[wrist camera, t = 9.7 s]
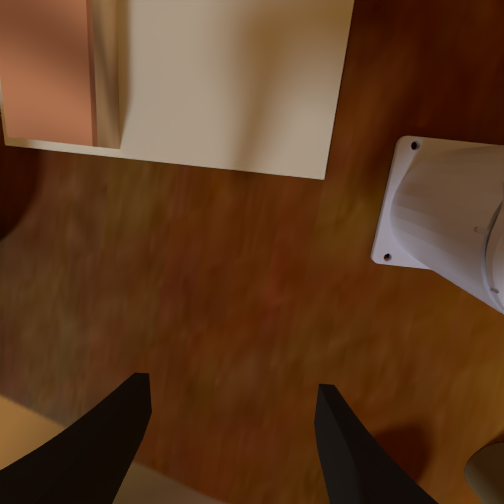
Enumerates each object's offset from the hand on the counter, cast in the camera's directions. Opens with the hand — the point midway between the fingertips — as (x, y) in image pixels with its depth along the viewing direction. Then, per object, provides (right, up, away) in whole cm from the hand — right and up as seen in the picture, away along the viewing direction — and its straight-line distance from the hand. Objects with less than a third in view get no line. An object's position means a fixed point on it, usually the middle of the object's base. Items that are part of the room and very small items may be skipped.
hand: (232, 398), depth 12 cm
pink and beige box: (-9, +17, +5) cm, 20 cm away
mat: (-4, +19, +4) cm, 20 cm away
